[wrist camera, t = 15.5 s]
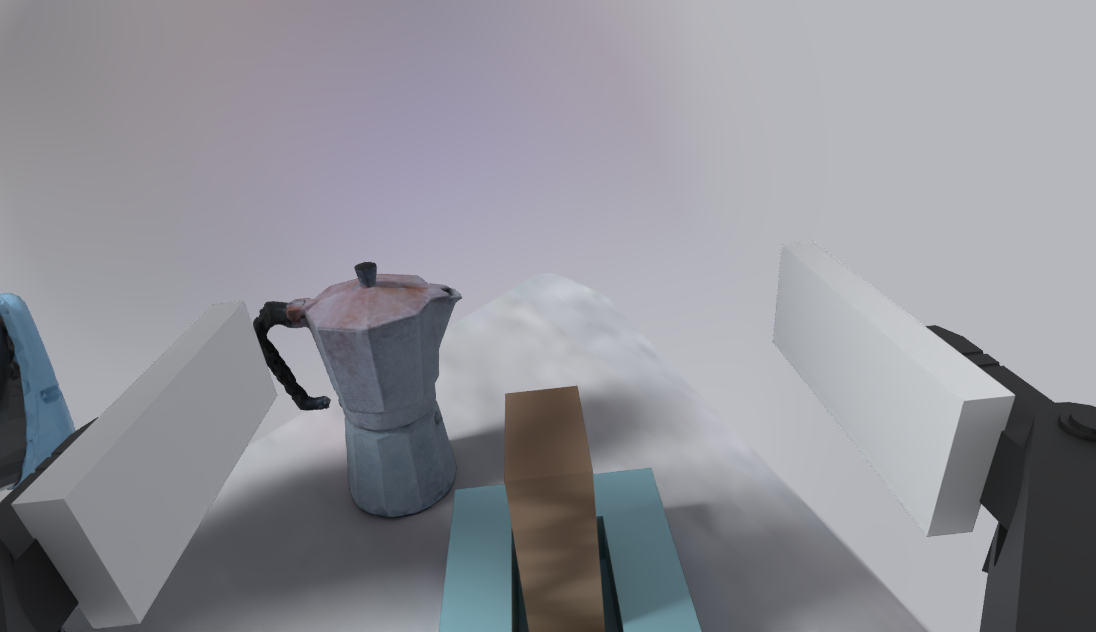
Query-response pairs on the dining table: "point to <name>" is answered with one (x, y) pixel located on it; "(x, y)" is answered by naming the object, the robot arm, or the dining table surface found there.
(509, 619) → the slotted base
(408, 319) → the moka pot
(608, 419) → the dining table surface
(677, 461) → the dining table surface
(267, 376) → the robot arm
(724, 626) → the dining table surface
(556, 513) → the walnut board
